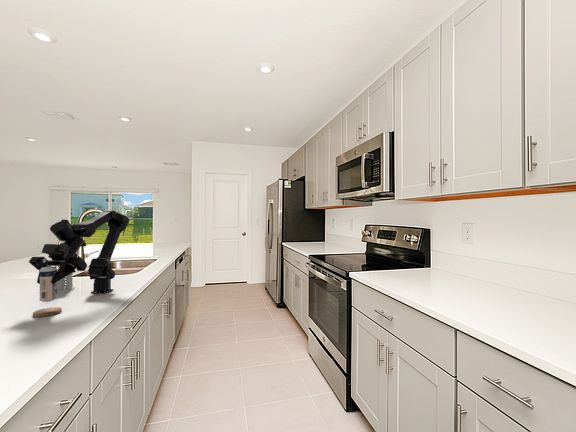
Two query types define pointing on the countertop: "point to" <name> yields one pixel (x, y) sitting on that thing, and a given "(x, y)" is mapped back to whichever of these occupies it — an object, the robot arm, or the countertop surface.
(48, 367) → the countertop surface
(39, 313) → the walnut coaster
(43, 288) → the beer can
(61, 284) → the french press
